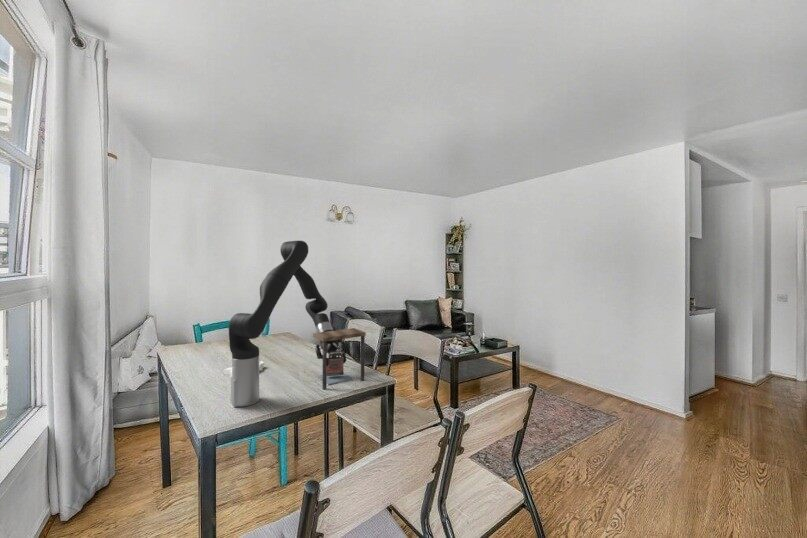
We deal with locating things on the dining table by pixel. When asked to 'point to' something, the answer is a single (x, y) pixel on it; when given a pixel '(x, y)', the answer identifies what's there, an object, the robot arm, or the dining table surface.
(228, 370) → the white brass knuckles
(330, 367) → the lighter
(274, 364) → the dining table surface
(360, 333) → the miniature side table
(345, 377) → the pad
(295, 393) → the dining table surface
